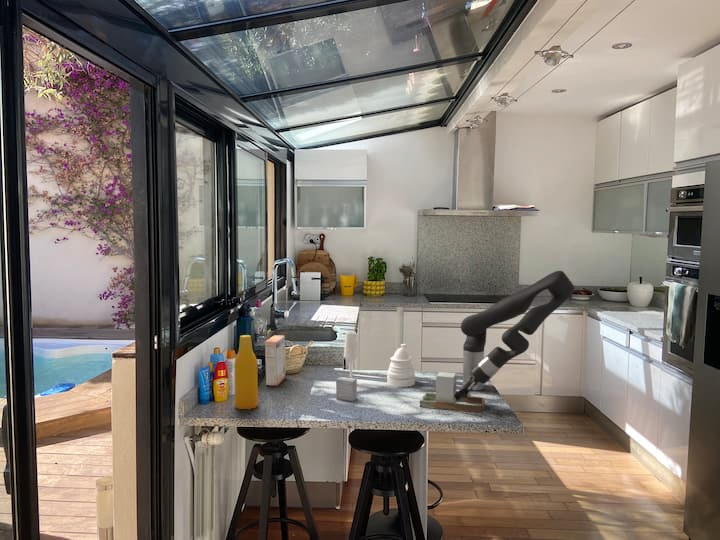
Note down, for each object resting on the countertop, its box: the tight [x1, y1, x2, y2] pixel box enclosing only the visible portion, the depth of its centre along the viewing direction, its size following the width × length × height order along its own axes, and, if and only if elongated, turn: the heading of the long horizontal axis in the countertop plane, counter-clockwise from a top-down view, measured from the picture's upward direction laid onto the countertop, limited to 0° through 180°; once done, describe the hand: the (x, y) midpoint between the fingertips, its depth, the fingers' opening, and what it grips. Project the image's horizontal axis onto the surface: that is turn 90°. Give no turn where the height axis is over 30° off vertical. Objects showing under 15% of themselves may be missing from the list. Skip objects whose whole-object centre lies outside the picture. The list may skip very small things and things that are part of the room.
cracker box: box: [264, 334, 286, 387], centre depth 261 cm, size 14×6×21 cm, turn 172°
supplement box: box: [435, 371, 457, 403], centre depth 228 cm, size 7×7×13 cm
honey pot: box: [386, 343, 416, 388], centre depth 259 cm, size 13×13×18 cm
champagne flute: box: [343, 331, 359, 386], centre depth 257 cm, size 7×7×24 cm
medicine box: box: [335, 376, 358, 402], centre depth 236 cm, size 8×4×9 cm, turn 65°
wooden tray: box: [419, 390, 486, 414], centre depth 230 cm, size 17×25×2 cm
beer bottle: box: [233, 334, 259, 410], centre depth 225 cm, size 9×9×29 cm
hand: (456, 397), depth 226 cm, fingers closed
